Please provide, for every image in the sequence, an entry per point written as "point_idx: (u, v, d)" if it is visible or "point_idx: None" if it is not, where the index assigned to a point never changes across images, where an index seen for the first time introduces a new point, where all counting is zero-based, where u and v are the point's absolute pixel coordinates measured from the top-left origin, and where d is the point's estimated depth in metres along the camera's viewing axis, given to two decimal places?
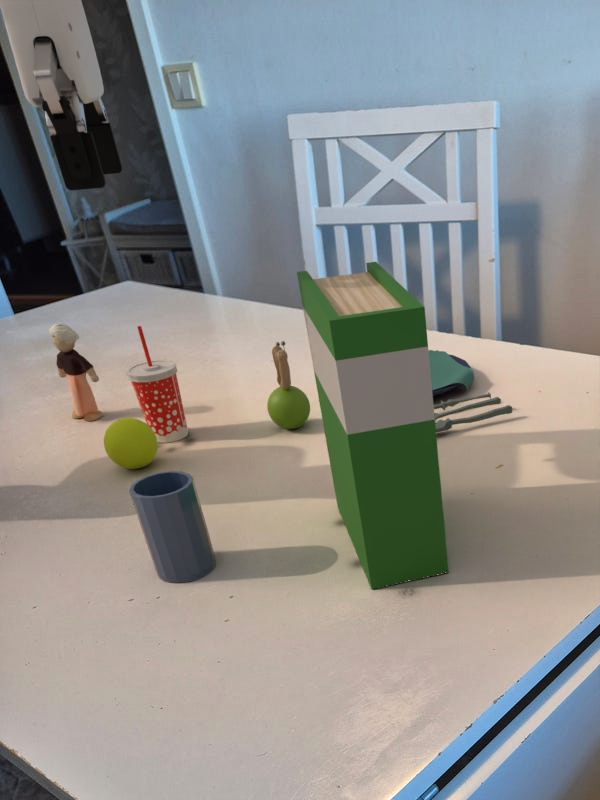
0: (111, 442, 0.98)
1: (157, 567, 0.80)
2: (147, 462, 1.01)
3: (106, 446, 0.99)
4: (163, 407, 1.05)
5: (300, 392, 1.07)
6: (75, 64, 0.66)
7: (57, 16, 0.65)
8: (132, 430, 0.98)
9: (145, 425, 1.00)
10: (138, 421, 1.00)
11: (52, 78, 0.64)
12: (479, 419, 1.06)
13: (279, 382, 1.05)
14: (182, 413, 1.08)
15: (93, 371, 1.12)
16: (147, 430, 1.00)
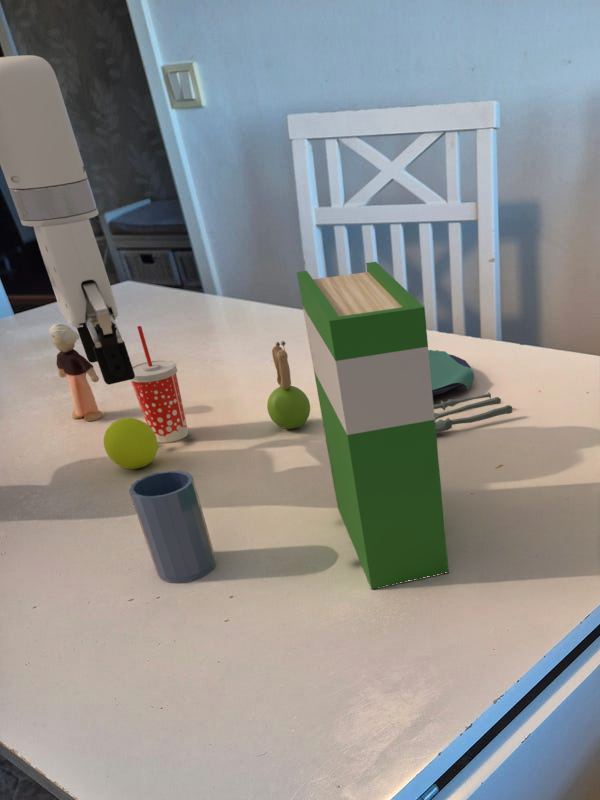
0: (111, 442, 0.98)
1: (157, 567, 0.80)
2: (147, 462, 1.01)
3: (106, 446, 0.99)
4: (163, 407, 1.05)
5: (300, 392, 1.07)
6: (111, 295, 0.88)
7: (98, 265, 0.86)
8: (132, 430, 0.98)
9: (145, 425, 1.00)
10: (138, 421, 1.00)
11: (108, 312, 0.85)
12: (479, 419, 1.06)
13: (279, 382, 1.05)
14: (182, 413, 1.08)
15: (93, 371, 1.12)
16: (147, 430, 1.00)
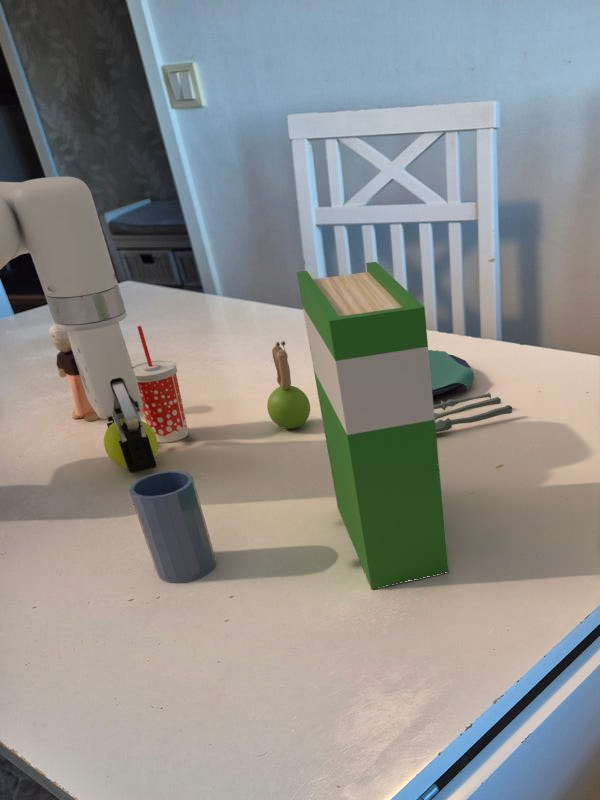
0: (111, 442, 0.98)
1: (157, 567, 0.80)
2: None
3: (106, 446, 0.99)
4: (163, 407, 1.05)
5: (300, 392, 1.07)
6: (138, 390, 0.94)
7: (126, 364, 0.92)
8: None
9: (145, 425, 1.00)
10: None
11: None
12: (479, 419, 1.06)
13: (279, 382, 1.05)
14: (182, 413, 1.08)
15: None
16: (147, 431, 1.00)
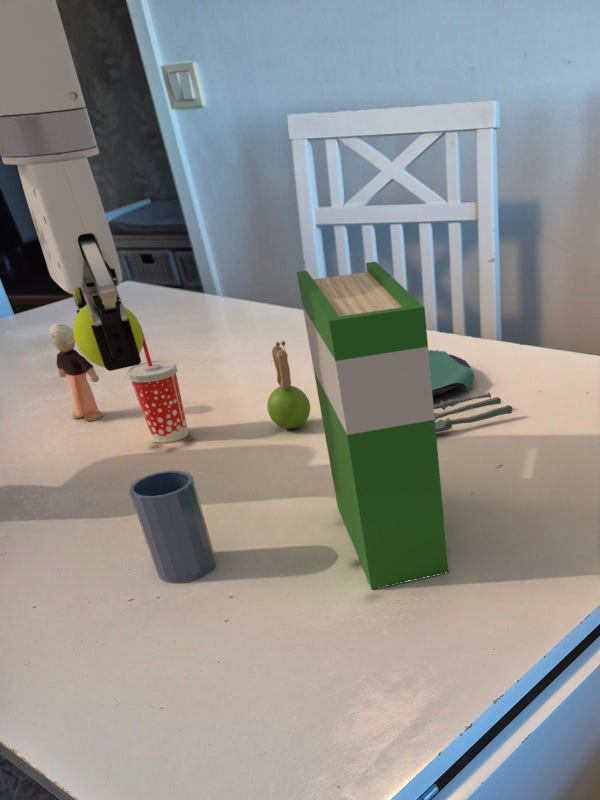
0: (82, 329, 0.76)
1: (157, 567, 0.80)
2: None
3: (76, 336, 0.76)
4: (163, 407, 1.05)
5: (300, 392, 1.07)
6: (115, 254, 0.71)
7: (99, 215, 0.69)
8: None
9: (127, 310, 0.77)
10: None
11: (114, 289, 0.70)
12: (479, 419, 1.06)
13: (279, 382, 1.05)
14: (182, 413, 1.08)
15: (93, 371, 1.12)
16: (129, 316, 0.77)
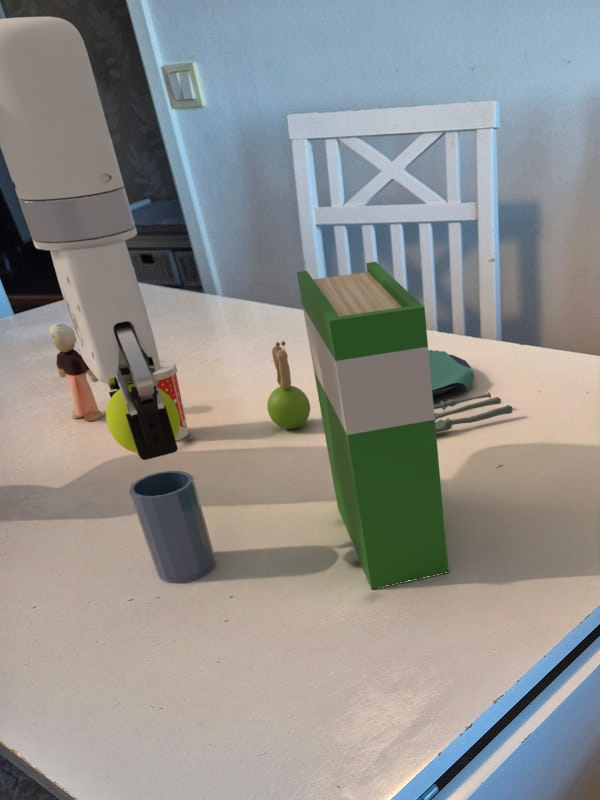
0: (116, 416, 0.70)
1: (157, 567, 0.80)
2: None
3: (109, 422, 0.71)
4: None
5: (300, 392, 1.07)
6: (153, 341, 0.66)
7: (136, 302, 0.64)
8: None
9: (163, 393, 0.72)
10: None
11: (152, 381, 0.65)
12: (479, 419, 1.06)
13: (279, 382, 1.05)
14: (182, 413, 1.08)
15: None
16: (166, 401, 0.72)
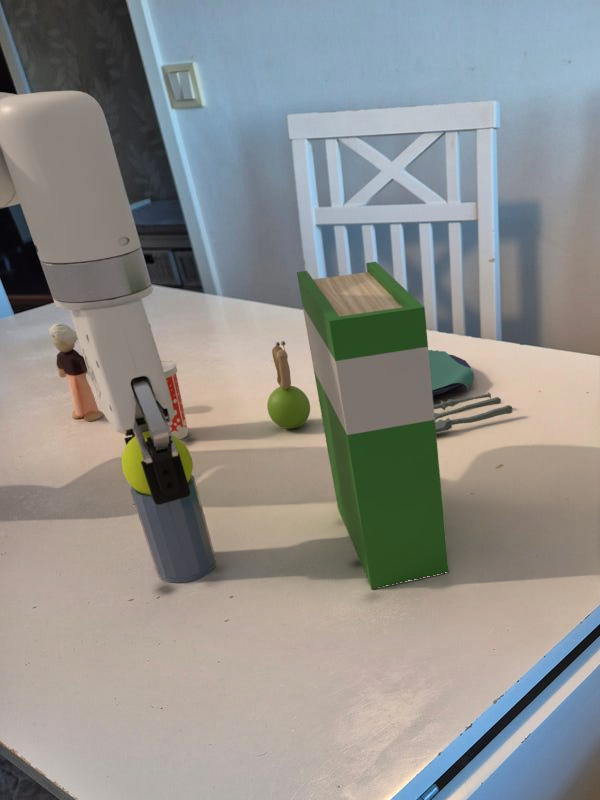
0: (132, 463, 0.73)
1: (157, 566, 0.80)
2: None
3: (125, 469, 0.74)
4: None
5: (300, 392, 1.07)
6: (168, 394, 0.69)
7: (152, 357, 0.67)
8: None
9: (177, 440, 0.75)
10: None
11: None
12: (479, 419, 1.06)
13: (279, 382, 1.05)
14: (182, 413, 1.08)
15: None
16: (180, 447, 0.74)
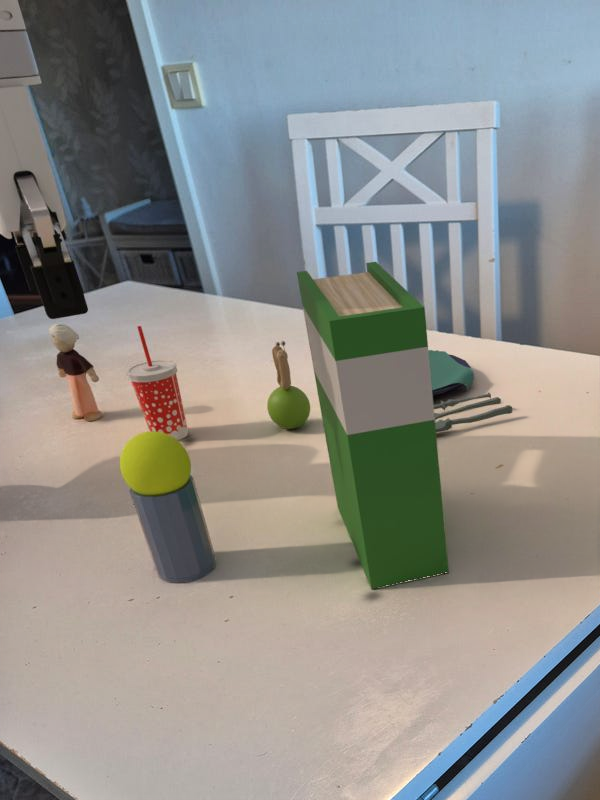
0: (130, 464, 0.73)
1: (157, 567, 0.80)
2: None
3: (123, 470, 0.74)
4: (163, 407, 1.05)
5: (300, 392, 1.07)
6: (57, 195, 0.65)
7: (37, 150, 0.63)
8: (158, 448, 0.73)
9: (174, 440, 0.75)
10: (165, 435, 0.75)
11: (49, 215, 0.62)
12: (479, 419, 1.06)
13: (279, 382, 1.05)
14: (182, 413, 1.08)
15: (93, 371, 1.12)
16: (177, 448, 0.75)
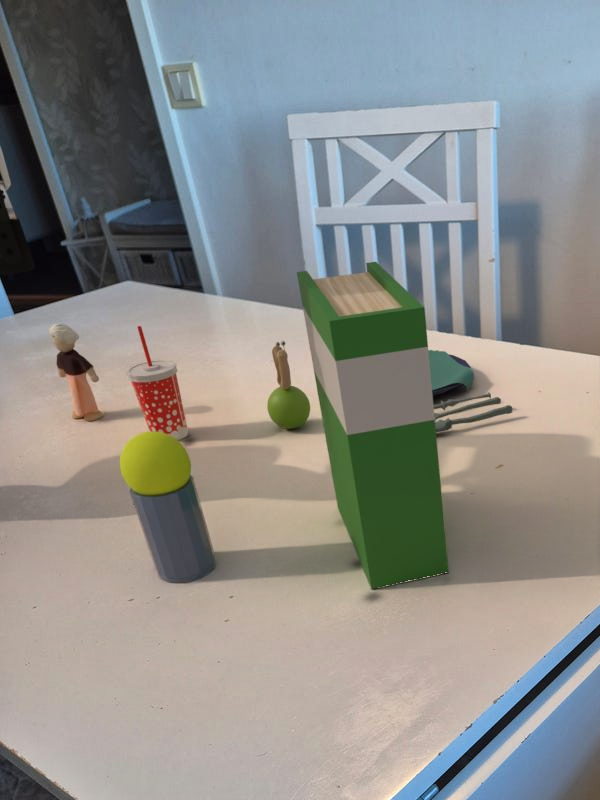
0: (130, 464, 0.73)
1: (157, 567, 0.80)
2: None
3: (123, 470, 0.74)
4: (163, 407, 1.05)
5: (300, 392, 1.07)
6: (0, 154, 0.68)
7: None
8: (158, 448, 0.73)
9: (174, 440, 0.75)
10: (165, 435, 0.75)
11: None
12: (479, 419, 1.06)
13: (279, 382, 1.05)
14: (182, 413, 1.08)
15: (93, 371, 1.12)
16: (177, 448, 0.75)
